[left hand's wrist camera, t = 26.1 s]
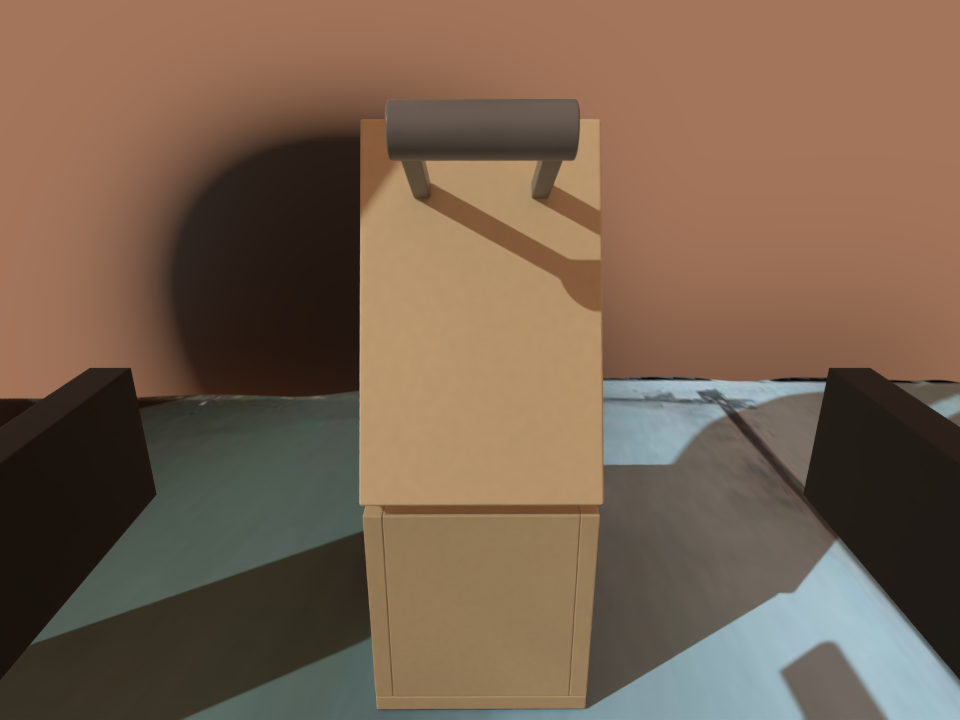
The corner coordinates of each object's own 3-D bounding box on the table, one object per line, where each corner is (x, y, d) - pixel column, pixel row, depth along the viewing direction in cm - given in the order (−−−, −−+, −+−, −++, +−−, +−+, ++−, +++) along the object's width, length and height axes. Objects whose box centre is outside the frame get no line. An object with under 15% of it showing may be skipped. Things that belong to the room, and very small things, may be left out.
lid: (364, 128, 28) (317, 20, 19) (596, 128, 28) (647, 20, 20) (363, 501, 27) (313, 554, 19) (599, 500, 27) (652, 553, 19)
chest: (408, 521, 45) (401, 377, 41) (551, 521, 45) (558, 377, 41) (376, 710, 31) (362, 516, 27) (585, 709, 31) (600, 515, 27)
